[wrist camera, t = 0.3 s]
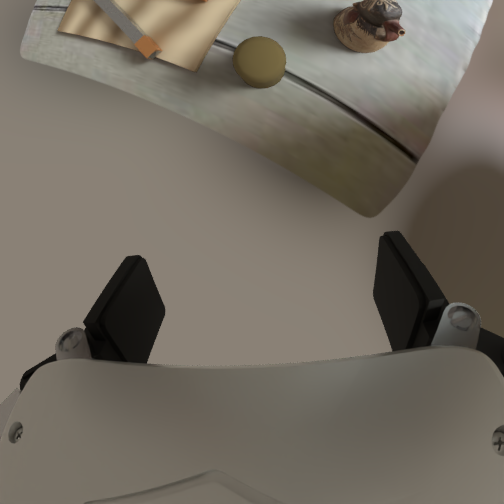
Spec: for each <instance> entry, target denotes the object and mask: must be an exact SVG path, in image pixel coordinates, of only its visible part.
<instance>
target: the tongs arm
mask: <svg viewBox="0 0 504 504" xmlns="http://www.w3.org/2000/svg"><path fill="white" fill-rule="evenodd" d="M94 1H95V2H96V3H97V4H98V5H99V6H100V7H101V9H102V10H103V11H104V12H105V13H106V14H107V15H108V16H109V17H110V18H111V19H112V20H113V21H114V22H115V23H116V24H117V25H118V26H119V27H120V29H121V30H122V31H123V32H124V33H125V34H126V35H127V36H128V37H129V38H130V39H131V40H132V42H133V43H134V45H135V46H136V47H137V48H138V49H139V51H140V52H141V53H142V54H143V55H144V56H145V57H146V58H147V59H154V58H155V57H156V56H157V55H158V54H159V53H161V52H162V51H163V50H162V49H161V48H160V47H159V46H158V45H157V44H156V43H155V42H154V41H153V39H152V38H151V37H149V36H148V35H147V34H146V33H145V32H144V31H143V30H142V29H141V28H140V27H139V26H138V25H137V24H136V23H135V21H134V20H133V19H132V18H131V17H130V16H129V15H128V14H127V13H126V12H125V11H124V10H123V9H122V8H121V7H120V6H119V5H118V4H117V3H116V2H115V1H114V0H94Z"/></svg>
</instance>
